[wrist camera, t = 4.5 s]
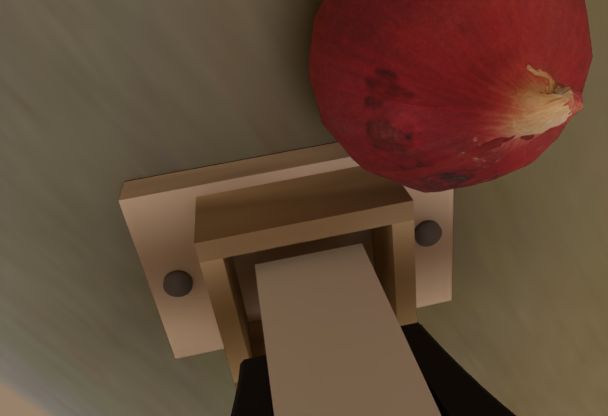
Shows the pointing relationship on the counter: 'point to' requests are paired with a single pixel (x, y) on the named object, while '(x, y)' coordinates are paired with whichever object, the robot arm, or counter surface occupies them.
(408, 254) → the bracket
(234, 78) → the counter surface
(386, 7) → the onion
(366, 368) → the post
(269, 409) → the robot arm
